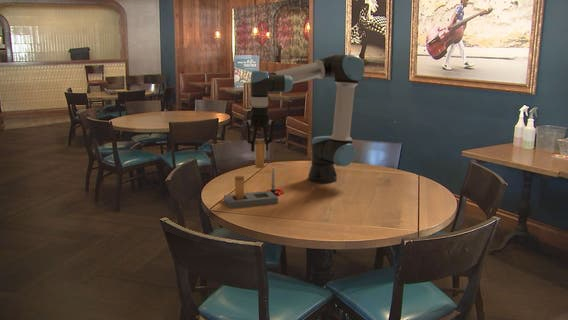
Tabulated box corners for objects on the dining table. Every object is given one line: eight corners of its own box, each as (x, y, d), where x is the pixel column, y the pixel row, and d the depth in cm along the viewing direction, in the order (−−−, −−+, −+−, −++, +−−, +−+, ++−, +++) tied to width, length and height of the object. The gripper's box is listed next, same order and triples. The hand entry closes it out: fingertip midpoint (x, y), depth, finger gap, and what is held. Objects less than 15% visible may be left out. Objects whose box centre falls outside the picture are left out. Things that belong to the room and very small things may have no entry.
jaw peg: (263, 166, 224) (263, 140, 221) (264, 168, 220) (264, 141, 217) (255, 166, 223) (255, 140, 221) (255, 168, 219) (255, 141, 217)
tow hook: (269, 190, 240) (263, 194, 232) (270, 164, 238) (264, 168, 229) (286, 191, 238) (280, 196, 229) (286, 165, 236) (281, 169, 227)
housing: (270, 195, 230) (270, 190, 229) (278, 203, 219) (278, 197, 218) (224, 200, 223) (223, 195, 222) (229, 208, 212) (229, 202, 211)
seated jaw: (243, 201, 222) (242, 175, 219) (245, 203, 218) (244, 177, 215) (234, 202, 220) (233, 176, 218) (236, 204, 217) (235, 178, 214)
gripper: (275, 105, 222) (275, 155, 227) (239, 105, 217) (239, 157, 222) (280, 106, 215) (279, 159, 220) (242, 107, 210) (243, 161, 215)
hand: (259, 158), depth 221 cm, fingers closed on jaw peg, 4 cm apart
